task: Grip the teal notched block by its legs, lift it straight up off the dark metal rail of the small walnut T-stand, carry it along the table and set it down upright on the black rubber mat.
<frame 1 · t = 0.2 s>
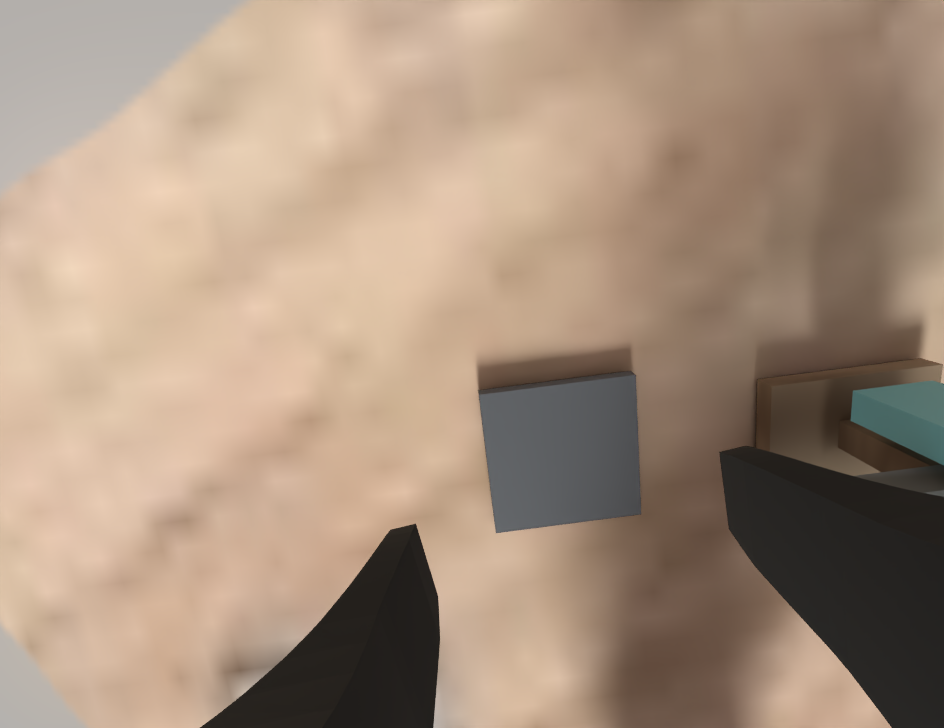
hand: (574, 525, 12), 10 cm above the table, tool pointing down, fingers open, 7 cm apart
teal notched block: (886, 449, 20), point 3 cm above the table, touching stand
mat: (560, 450, 22), on the table
stand: (835, 423, 22), on the table
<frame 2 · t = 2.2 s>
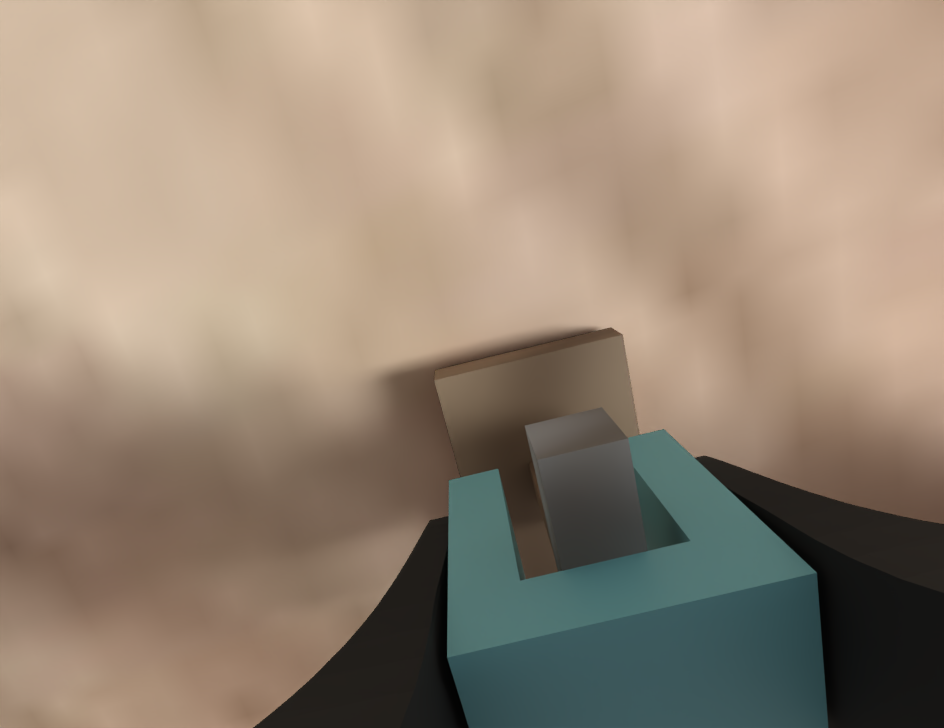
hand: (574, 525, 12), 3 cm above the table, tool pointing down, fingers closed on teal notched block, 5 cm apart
teal notched block: (567, 509, 12), point 3 cm above the table, touching gripper, stand
stand: (547, 461, 15), on the table
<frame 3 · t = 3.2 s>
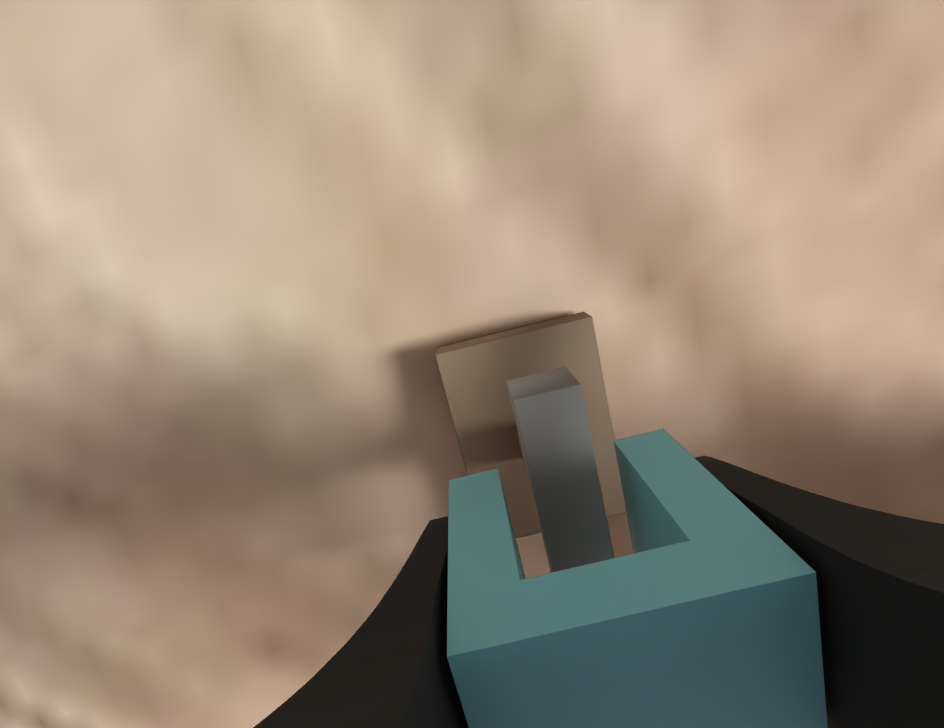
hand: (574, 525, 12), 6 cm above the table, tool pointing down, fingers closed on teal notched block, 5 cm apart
teal notched block: (567, 509, 12), point 5 cm above the table, touching gripper
stand: (531, 426, 18), on the table
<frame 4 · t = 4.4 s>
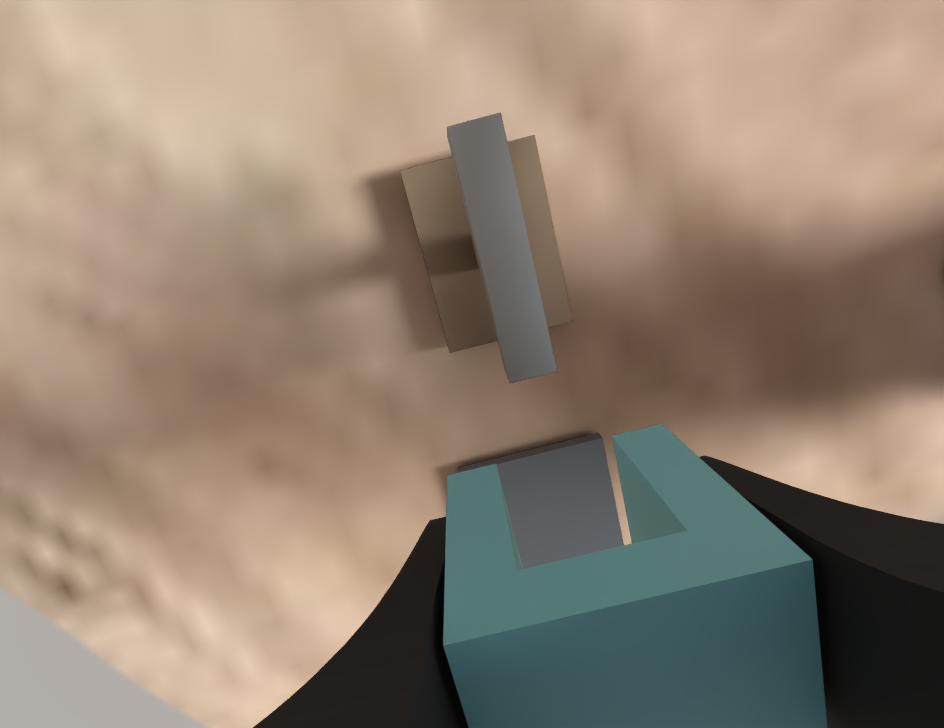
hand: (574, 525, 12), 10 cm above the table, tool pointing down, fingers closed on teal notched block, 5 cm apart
teal notched block: (566, 505, 12), point 10 cm above the table, touching gripper
mat: (542, 512, 23), on the table
stand: (488, 248, 20), on the table
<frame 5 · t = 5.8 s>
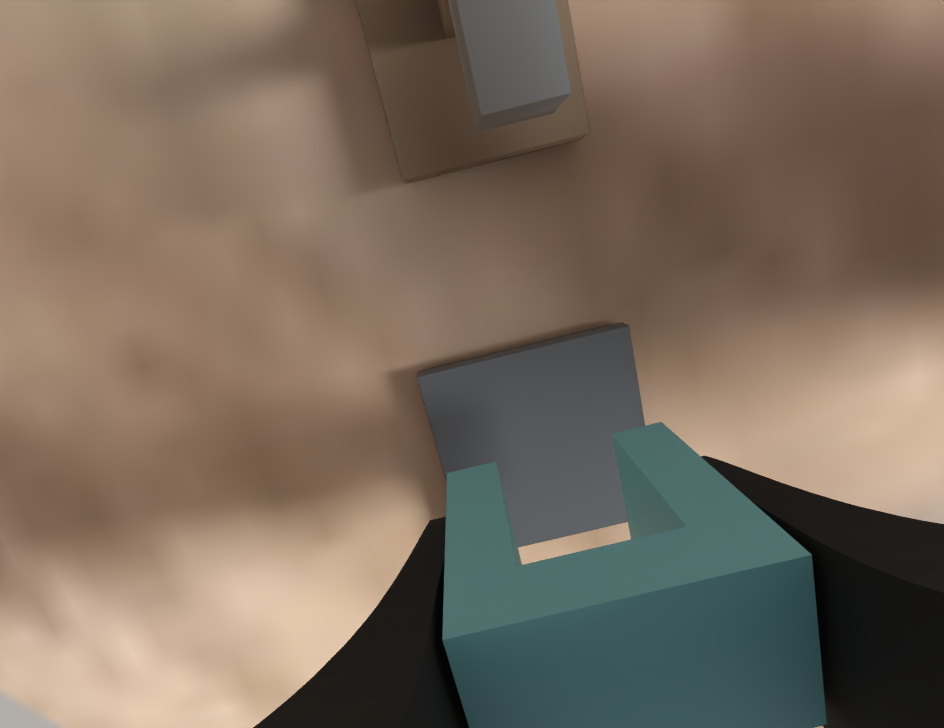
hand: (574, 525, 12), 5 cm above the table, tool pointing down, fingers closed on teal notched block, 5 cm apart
teal notched block: (565, 503, 12), point 4 cm above the table, touching gripper
mat: (540, 441, 16), on the table
stand: (462, 22, 13), on the table
when the fingers open (3 cm above the table, at t = 6.8 s): teal notched block drops 1 cm, resting on mat.
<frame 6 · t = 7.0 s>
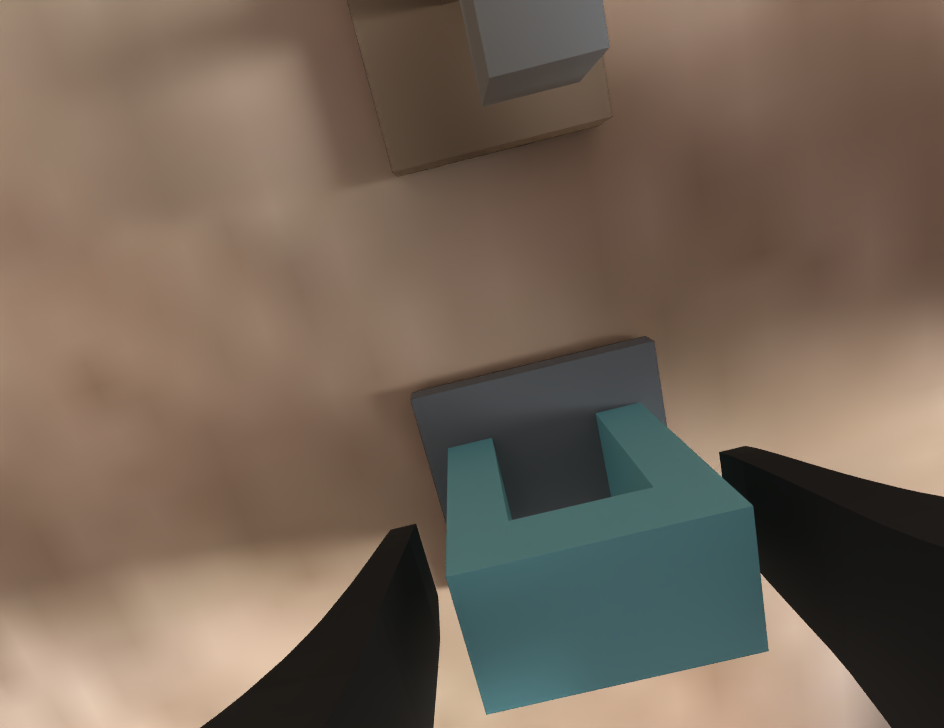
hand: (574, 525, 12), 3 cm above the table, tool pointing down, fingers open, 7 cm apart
teal notched block: (554, 475, 14), point 1 cm above the table, touching mat
mat: (551, 470, 14), on the table
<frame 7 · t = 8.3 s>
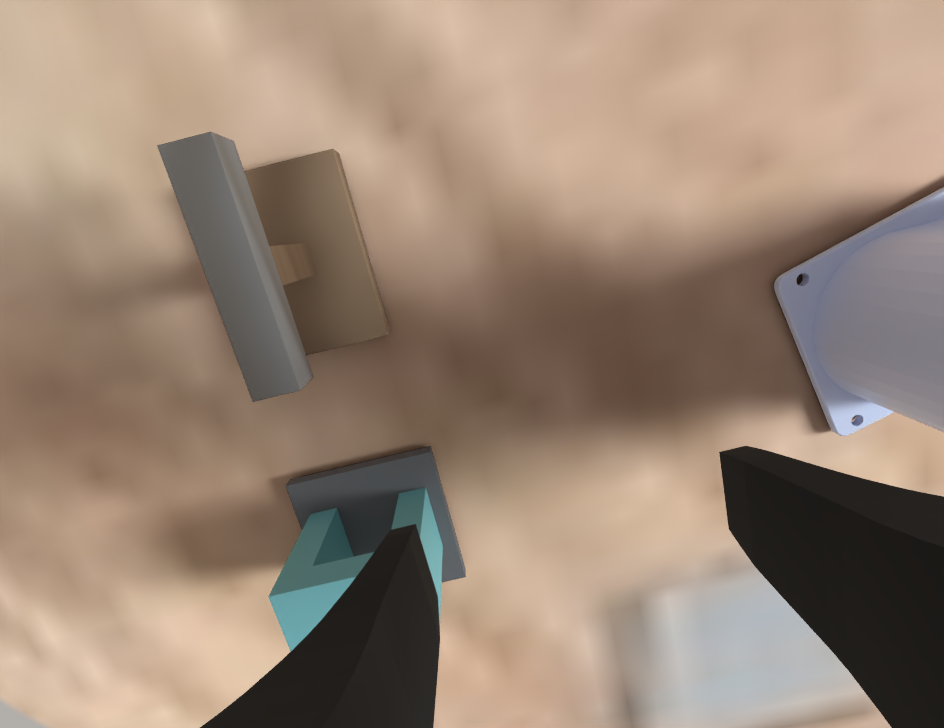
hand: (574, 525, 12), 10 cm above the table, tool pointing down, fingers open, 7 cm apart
teal notched block: (377, 530, 23), point 1 cm above the table, touching mat
mat: (380, 525, 23), on the table
stand: (304, 260, 20), on the table
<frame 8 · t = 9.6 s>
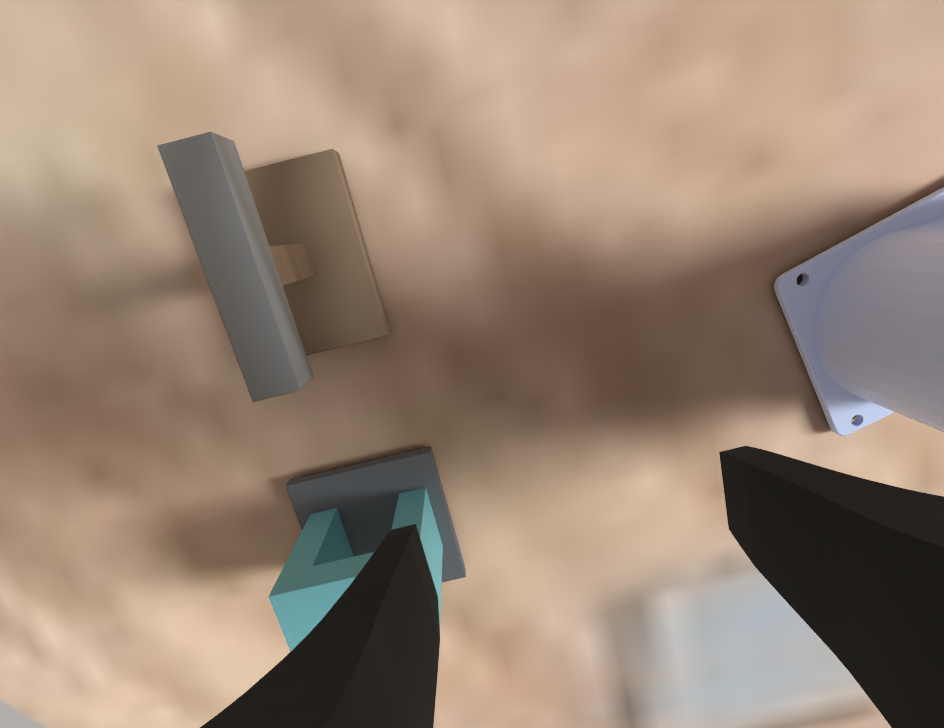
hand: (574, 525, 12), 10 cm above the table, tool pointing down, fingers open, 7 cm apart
teal notched block: (377, 530, 23), point 1 cm above the table, touching mat
mat: (380, 525, 23), on the table
stand: (304, 261, 20), on the table
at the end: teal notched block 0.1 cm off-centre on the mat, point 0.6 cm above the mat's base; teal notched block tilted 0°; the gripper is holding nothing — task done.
